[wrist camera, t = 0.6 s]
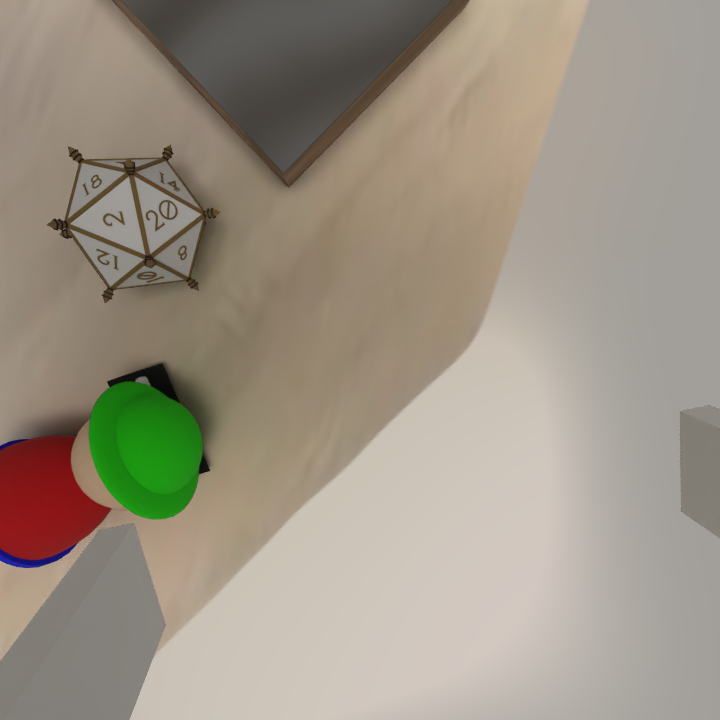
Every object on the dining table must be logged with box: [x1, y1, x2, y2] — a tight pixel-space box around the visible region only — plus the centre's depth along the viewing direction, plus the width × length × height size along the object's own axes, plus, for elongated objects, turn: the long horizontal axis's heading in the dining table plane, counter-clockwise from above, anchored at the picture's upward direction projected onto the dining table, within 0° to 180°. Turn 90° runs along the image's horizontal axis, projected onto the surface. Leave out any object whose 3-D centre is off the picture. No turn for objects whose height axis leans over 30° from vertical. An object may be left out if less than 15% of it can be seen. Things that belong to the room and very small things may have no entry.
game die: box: [47, 145, 220, 303], centre depth 28 cm, size 9×8×10 cm
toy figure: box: [0, 363, 210, 568], centre depth 30 cm, size 9×10×15 cm
